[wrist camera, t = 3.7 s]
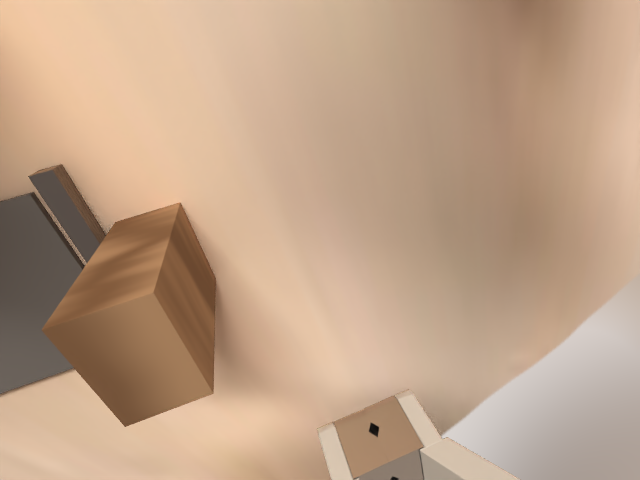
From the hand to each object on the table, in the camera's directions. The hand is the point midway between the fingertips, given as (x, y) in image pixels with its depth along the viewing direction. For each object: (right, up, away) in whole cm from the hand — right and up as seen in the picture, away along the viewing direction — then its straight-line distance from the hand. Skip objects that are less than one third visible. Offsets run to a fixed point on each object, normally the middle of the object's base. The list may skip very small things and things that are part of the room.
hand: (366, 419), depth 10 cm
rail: (-15, +3, +12) cm, 19 cm away
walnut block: (-11, +5, +12) cm, 17 cm away
